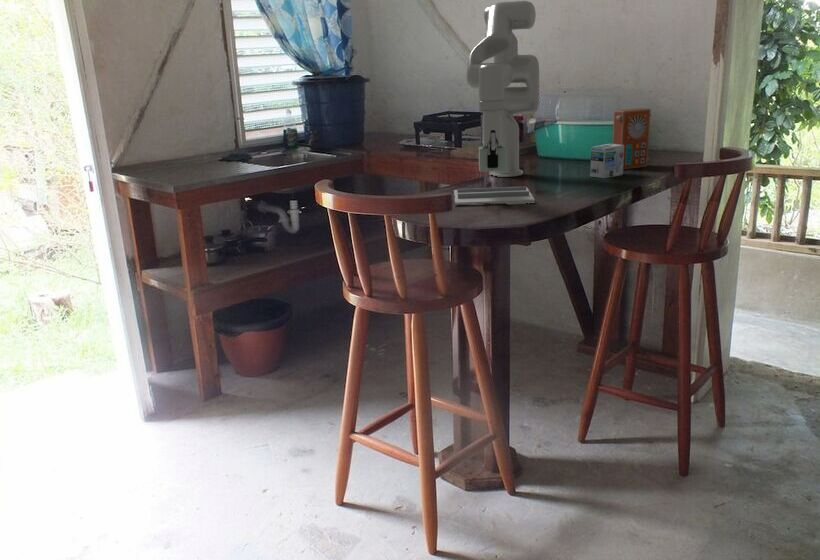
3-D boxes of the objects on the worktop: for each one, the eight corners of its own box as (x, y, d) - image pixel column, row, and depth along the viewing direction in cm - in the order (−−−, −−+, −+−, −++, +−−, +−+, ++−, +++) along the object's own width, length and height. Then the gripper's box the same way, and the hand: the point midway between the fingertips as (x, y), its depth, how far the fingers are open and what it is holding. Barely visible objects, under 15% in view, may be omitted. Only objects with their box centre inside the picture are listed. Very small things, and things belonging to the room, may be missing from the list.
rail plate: (454, 193, 229) (453, 185, 229) (526, 190, 228) (527, 183, 227) (455, 206, 210) (454, 197, 210) (534, 203, 209) (534, 195, 208)
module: (478, 169, 219) (478, 145, 217) (504, 168, 218) (504, 144, 216) (479, 171, 214) (479, 147, 212) (505, 170, 214) (505, 146, 211)
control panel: (651, 166, 262) (618, 170, 257) (639, 164, 268) (607, 168, 263) (654, 108, 255) (621, 111, 250) (642, 107, 262) (609, 110, 256)
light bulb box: (604, 178, 242) (605, 147, 239) (589, 176, 248) (590, 146, 244) (623, 174, 248) (625, 144, 245) (608, 172, 254) (609, 143, 250)
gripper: (477, 105, 219) (478, 163, 224) (480, 109, 202) (481, 171, 208) (501, 104, 218) (502, 162, 224) (506, 107, 202) (506, 170, 208)
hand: (492, 165), depth 216 cm, fingers closed on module, 5 cm apart
